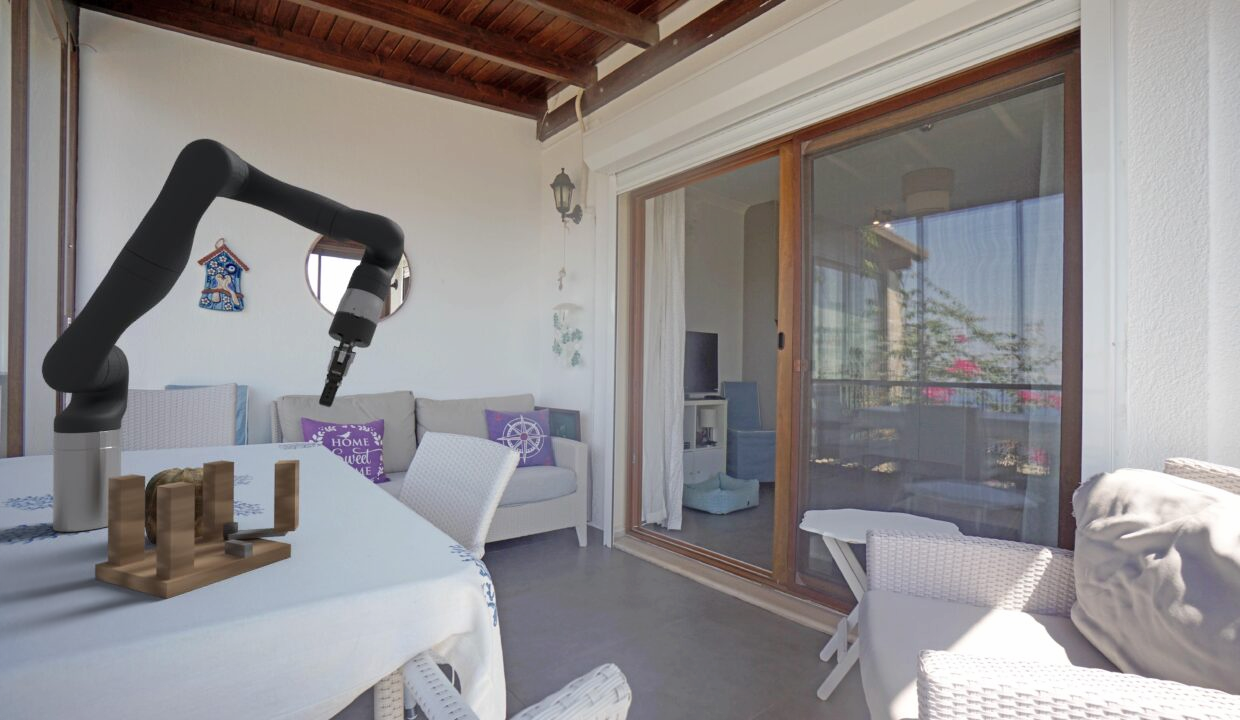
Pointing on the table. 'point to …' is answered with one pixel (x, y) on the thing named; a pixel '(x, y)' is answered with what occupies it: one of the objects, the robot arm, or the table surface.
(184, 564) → the wooden peg stand
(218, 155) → the robot arm
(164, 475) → the shell
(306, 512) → the table surface
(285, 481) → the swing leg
